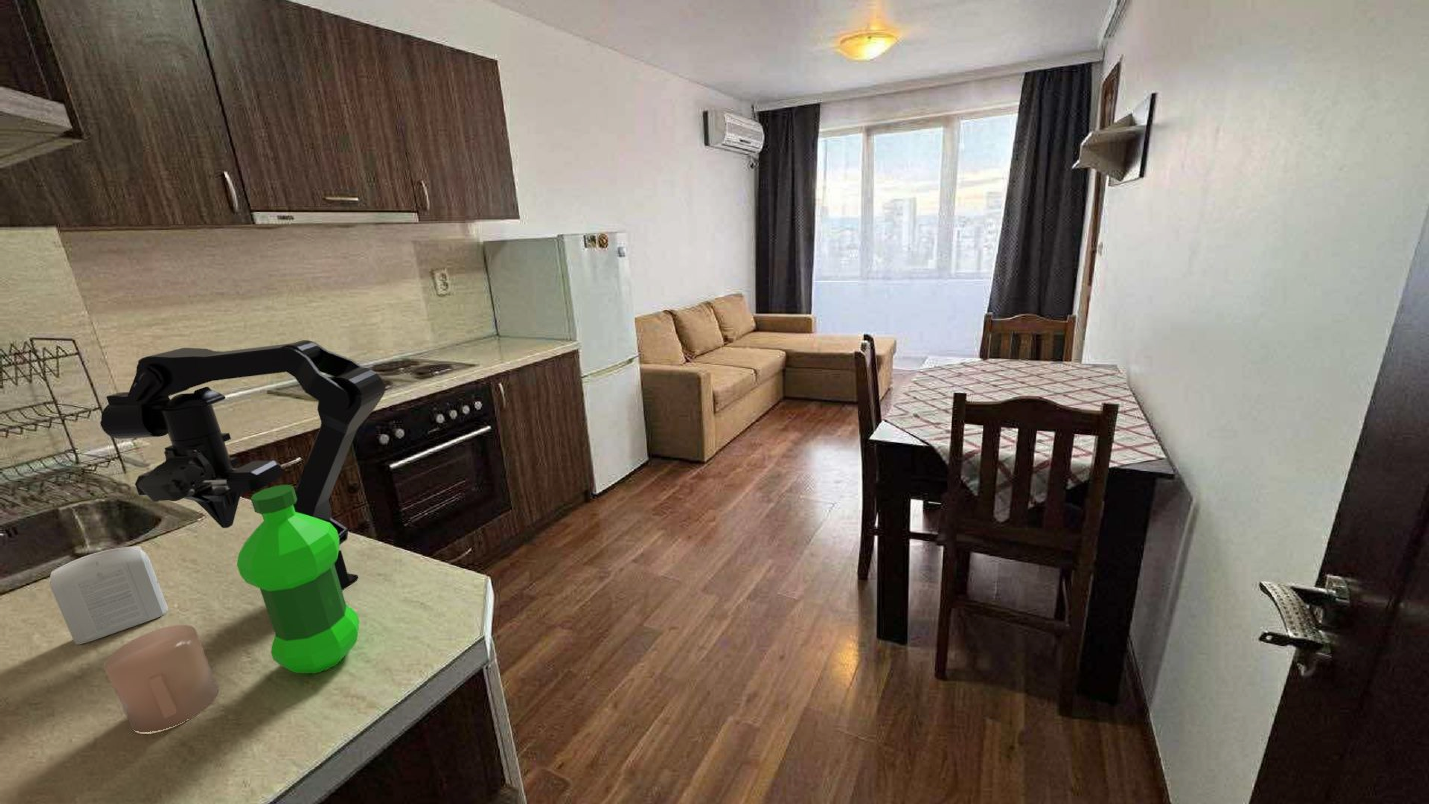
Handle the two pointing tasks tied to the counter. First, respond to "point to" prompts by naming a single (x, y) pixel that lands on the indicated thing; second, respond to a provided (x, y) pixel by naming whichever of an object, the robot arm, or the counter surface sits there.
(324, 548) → the plastic bottle
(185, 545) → the counter surface
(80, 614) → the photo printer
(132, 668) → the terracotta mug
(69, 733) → the counter surface
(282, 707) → the counter surface
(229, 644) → the counter surface
